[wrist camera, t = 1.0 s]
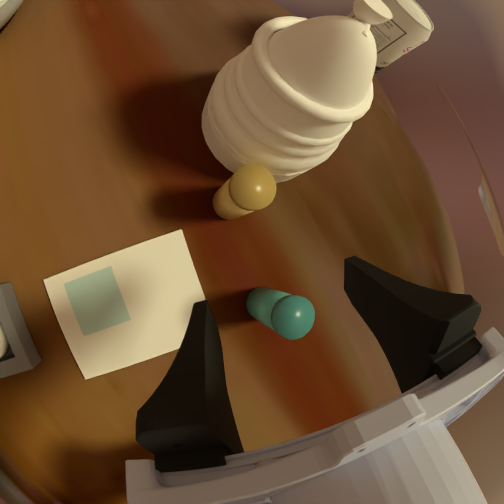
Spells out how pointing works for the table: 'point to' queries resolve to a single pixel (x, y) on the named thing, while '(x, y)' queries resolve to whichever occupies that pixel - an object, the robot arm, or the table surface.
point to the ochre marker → (245, 192)
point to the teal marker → (281, 311)
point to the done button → (3, 342)
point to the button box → (15, 336)
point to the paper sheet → (126, 304)
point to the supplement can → (399, 31)
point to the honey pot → (294, 91)
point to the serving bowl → (8, 10)
